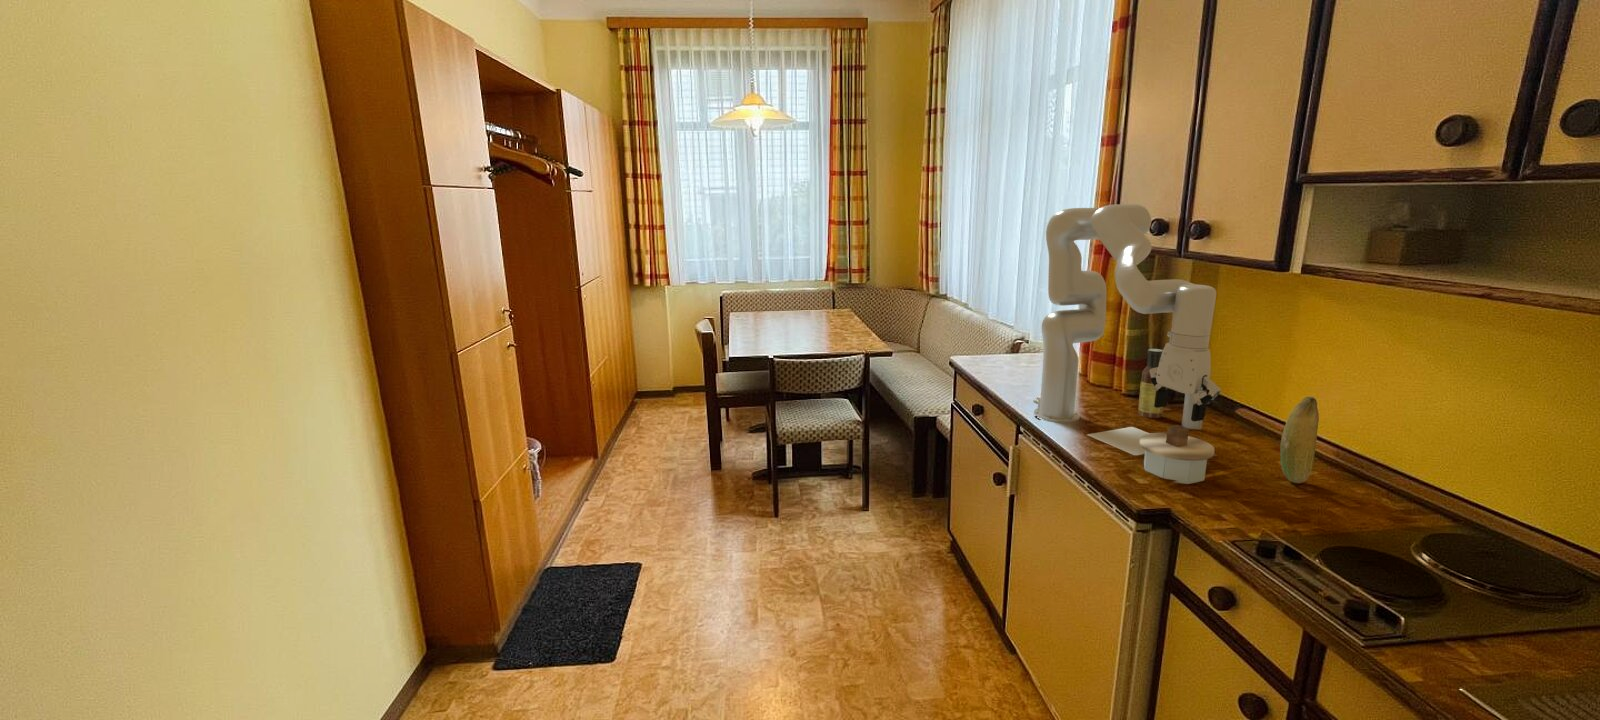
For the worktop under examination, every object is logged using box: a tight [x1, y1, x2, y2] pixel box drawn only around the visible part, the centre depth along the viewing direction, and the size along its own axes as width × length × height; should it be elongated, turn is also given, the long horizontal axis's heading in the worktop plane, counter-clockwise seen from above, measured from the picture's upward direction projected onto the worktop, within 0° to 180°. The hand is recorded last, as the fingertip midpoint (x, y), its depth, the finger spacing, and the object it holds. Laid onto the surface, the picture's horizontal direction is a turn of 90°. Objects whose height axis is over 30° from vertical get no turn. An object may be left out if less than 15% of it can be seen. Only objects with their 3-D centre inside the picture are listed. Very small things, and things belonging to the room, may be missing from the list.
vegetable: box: [1279, 396, 1320, 484], centre depth 142 cm, size 6×6×20 cm
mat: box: [1086, 426, 1150, 456], centre depth 169 cm, size 16×16×1 cm
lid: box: [1139, 424, 1216, 461], centre depth 149 cm, size 15×15×5 cm
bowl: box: [1143, 450, 1208, 485], centre depth 150 cm, size 12×12×6 cm
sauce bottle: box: [1137, 348, 1164, 419], centre depth 187 cm, size 7×6×20 cm
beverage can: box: [1181, 394, 1204, 430], centre depth 177 cm, size 5×5×12 cm
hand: (1178, 413), depth 148 cm, fingers open, 9 cm apart
